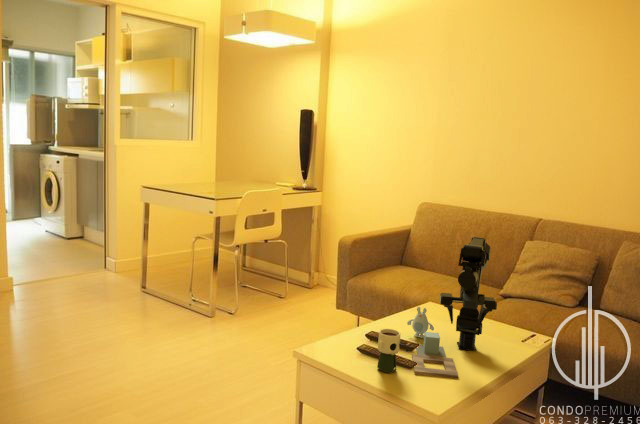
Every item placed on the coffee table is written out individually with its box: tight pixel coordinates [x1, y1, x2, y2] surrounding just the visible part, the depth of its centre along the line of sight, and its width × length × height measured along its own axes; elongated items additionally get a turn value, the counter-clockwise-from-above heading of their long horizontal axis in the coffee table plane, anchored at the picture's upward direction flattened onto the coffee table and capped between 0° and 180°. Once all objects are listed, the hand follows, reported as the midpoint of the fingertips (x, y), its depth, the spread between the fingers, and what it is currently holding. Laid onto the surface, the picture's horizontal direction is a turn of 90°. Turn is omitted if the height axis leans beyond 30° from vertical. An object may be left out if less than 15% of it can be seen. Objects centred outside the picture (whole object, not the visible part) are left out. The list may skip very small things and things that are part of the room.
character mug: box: [376, 328, 401, 373], centre depth 178 cm, size 11×7×13 cm, turn 139°
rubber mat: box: [415, 344, 447, 357], centre depth 196 cm, size 10×10×1 cm
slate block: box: [422, 331, 441, 354], centre depth 196 cm, size 5×5×6 cm
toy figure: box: [406, 306, 435, 339], centre depth 209 cm, size 11×6×12 cm, turn 63°
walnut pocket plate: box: [411, 353, 459, 379], centre depth 183 cm, size 14×14×1 cm
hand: (465, 324), depth 188 cm, fingers open, 9 cm apart
